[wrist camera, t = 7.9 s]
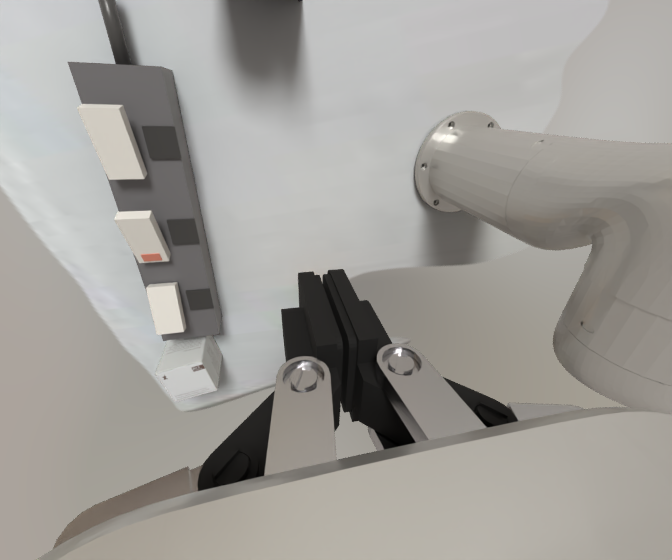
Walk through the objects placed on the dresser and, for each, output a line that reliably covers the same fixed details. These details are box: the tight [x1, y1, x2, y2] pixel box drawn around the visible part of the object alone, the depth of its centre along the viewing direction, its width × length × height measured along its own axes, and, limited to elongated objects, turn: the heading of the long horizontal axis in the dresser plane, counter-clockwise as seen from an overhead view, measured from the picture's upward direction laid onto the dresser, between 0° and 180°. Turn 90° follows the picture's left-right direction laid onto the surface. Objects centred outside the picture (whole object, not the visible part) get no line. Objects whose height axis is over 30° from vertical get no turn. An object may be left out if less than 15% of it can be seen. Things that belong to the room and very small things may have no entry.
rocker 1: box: [77, 104, 147, 180], centre depth 27 cm, size 3×6×1 cm, turn 178°
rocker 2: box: [114, 211, 170, 263], centre depth 31 cm, size 3×6×1 cm, turn 178°
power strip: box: [68, 0, 222, 341], centre depth 33 cm, size 7×36×4 cm, turn 178°
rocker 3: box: [146, 282, 186, 335], centre depth 36 cm, size 3×6×1 cm, turn 178°
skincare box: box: [155, 335, 222, 402], centre depth 43 cm, size 6×6×7 cm
